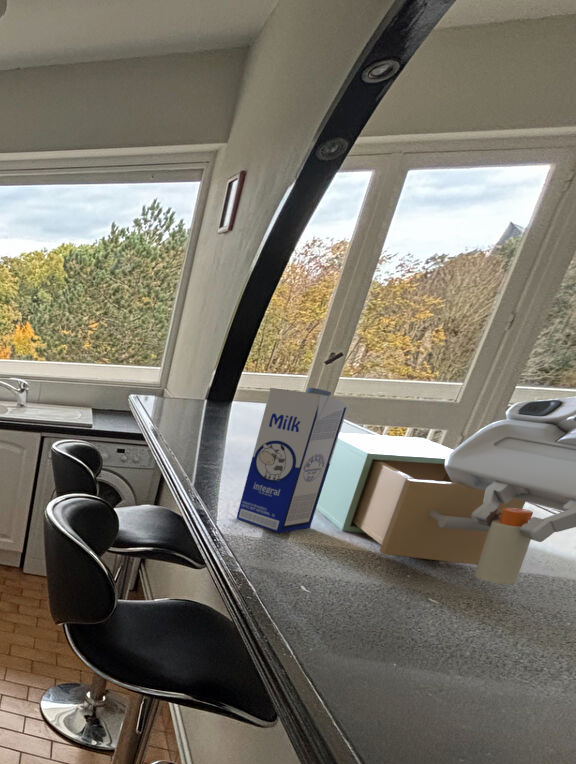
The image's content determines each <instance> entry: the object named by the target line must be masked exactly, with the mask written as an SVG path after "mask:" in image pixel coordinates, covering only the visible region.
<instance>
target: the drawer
mask: <svg viewBox="0 0 576 764" xmlns="http://www.w3.org/2000/svg"><path fill="white" fill-rule="evenodd" d="M484 495H485V491H483V490H480V489H476V488H472V487H468V486H467V485H463V484H459V483H455V482H452V480H451V479H450V477H449V475H448V473H447V471H446V469H445V464H431V463H417V462H403V461H390V460H376V459H373V460H372V463H371V466H370V469H369V472H368V475H367V478H366V481H365V484H364V487H363V490H362V493H361V496H360V498H359V501H358V504H357V507H356V510H355V513H354V516H353V519H352V522H353V523H354V524H356V525H357V526H358V527H359V528H361V529H362V530H363V531H364V532H366V533H365V534H367V536H369V537H370V538H372V539H373V540H374V541H375V542H377V543H378V544H379V545H380V548H379V551H380V553H381V554H383V555H388V556H396V557H407V558H415V559H423V560H431V561H432V560H433V561H441V562H450V563H459V564H468V565H475V566H477V565H478V562H479V559H480V556H481V553H482V550H483V547H484V544H485V541H486V538H487V535H488V532H489V529H490V526H486V525H483V524H479V523H476V522H474V520H473V518H472V516H471V515H472V513H473V512H474V511H475V510H476V509H477V508H479V507H480V506H481V505H482V504H483V500H484ZM526 503H527V502H526V501H522V500H518V499H514V498H512V499H511V500H510V501H509V502H507V503H501V501H500V502H499V505H498V507H499V509H500V512H501V513H502V511H503V509H504V508H519V509H524V506H525V504H526Z"/></svg>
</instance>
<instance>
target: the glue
mask: <svg viewBox="0 0 576 764" xmlns="http://www.w3.org/2000/svg"><path fill="white" fill-rule="evenodd" d="M533 514H534V512H533V511H532V510H529V509H525V508H523V509H519V508H504V509H503V511H502V514H501V516H500V519H499V520H493V521H492V523H491V526H490V529H489V532H488V535H487V538H486V541H485V544H484V547H483V550H482V553H481V556H480V559H479V562H478V565H476V569H475V572H474V577H475V578H476V579H479V580H481V581H484V582H487V583H493V584H498V585H515V584H516V582H517V580H518V577H519V574H520V571H521V568H522V566H523V562H524V560H525V557H526V554H527V552H528V549H529V546H530V543H531V539H528V538H525V537H523V536H522V533H521V532H520V527H521V526H522V525H523V524H526V523H528V521H529V520H530V519H531V518H532V517H533Z"/></svg>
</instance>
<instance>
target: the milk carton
mask: <svg viewBox="0 0 576 764" xmlns="http://www.w3.org/2000/svg"><path fill="white" fill-rule="evenodd" d="M331 394H332V392H331V391H329V390H326V389H323V388H322V389H320V388H317V387H307V389H306V392H305V391H299V390H298V391H297V390H290V389H283V388H277V387H276V388H275V387H269V393H268V396H267V399H266V404H265V408H264V411H263V416H262V419H261V422H260V427H259V430H258V435H257V438H256V442H255V445H254V450H253V453H252V458H251V461H250V463H249V464H250V465H249V468H248V472H247V476H246V480H245V484H244V487H243V491H242V496H241V499H240V503H239V505H238V506H239V507H238V511H237V514H236V520H240V521H242V522H245V523H248V524H250V525H254V526H257V527H260V528H262V529H266V530H268V531H271V532H274V533H277V534H284V533H289V532H295V531H300V530H306V529H310V528H311V526H312V522H313V520H314V516H315V513H316V510H317V509H316V507H317V504H318V501H319V497H320V494H321V491H322V488H323V485H324V481H325V478H326V475H327V472H328V469H329V466H330V462H331V459H332V456H333V453H334V450H335V446H336V443H337V440H338V437H339V434H340V433H341V430H342V427H343V424H344V420H345V418H346V415H347V411H348V408H349V406H350V404H347V403H345V402H343V401H341V400H339V399H337V398H335V397H332V396H331Z"/></svg>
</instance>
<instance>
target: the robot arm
mask: <svg viewBox="0 0 576 764" xmlns="http://www.w3.org/2000/svg"><path fill="white" fill-rule="evenodd" d="M505 417H506V419H503V420H498V421H495V422H492V423H490V424H488V425H486V426H484V427H483V428H481V429H479V430H478V431H476V432H475V433H474V434H473V435H471V436H470V437H468V438H467V439H465V440H464V441H463V442H462V443H460V444H459V445H458V446H457V447H456V448H454V449H452V450H453V451H452V452H451V453H450V454H449V455H448V456H447V457H446V459H445V469H446V471H447V473H448V475H449V477H450V479H451V480H452V482H455V483H459V484H463V485H467V486H468V487H472V488H476V489H480V490H483V491H485V495H484V500H483V504H482V505H481V506H480V507H479V508H477V509H476V510H475V511H474V512H473V513H472V515H471V516H472V518H473V520H474V522H476V523H479V524H483V525H486V526H491V523H492V521H493V520H499V519H500V516H501V514H502V513H501V512H500V509H499V507H498V505H499V502H500V501H501V503H507V502H509V501H510V500H511V499H512V498H514V499H518V500H522V501H526V502H525V503H530V504H534V505H538V506H542V507H545V508H549V509H553V510H558V511H561V512H558V513H556V514H552V515H549V516H547V517H544V518H540V517H537V516H532V517H531V519H530V520H529V521H528V523H526V524H523V525H522V526H521V527H520V532H521V533H522V536H523V537H525V538H528V539H531V540H532V541H535V542H539V543H542V542H544V541H545V540H547V539H548V538H549V537H550V536H552V535H553V534H554V533H559V532H563V531H566V530H569V529H574V528H576V396H572V397H563V398H551V399H540V400H537V399H536V400H524V401H519V402H516V403H515V404H513V405H512V406H510V407H509V408H508V409H507V410H506V411H505ZM531 540H530V541H531Z"/></svg>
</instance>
